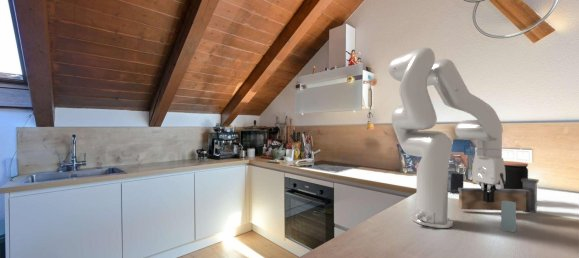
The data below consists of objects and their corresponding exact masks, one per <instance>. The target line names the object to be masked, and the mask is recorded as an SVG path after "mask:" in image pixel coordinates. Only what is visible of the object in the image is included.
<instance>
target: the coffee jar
mask: <svg viewBox="0 0 579 258" xmlns="http://www.w3.org/2000/svg"><path fill="white" fill-rule="evenodd" d="M503 161H504V165H505V177H506V178H505V184H504V185H503V186H504V189H523V182H522V181H521V179H522V178H529V168H528V167H529V163H527V162H521V161H507V160H503Z"/></svg>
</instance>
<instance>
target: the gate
mask: <svg viewBox="0 0 579 258" xmlns="http://www.w3.org/2000/svg"><path fill="white" fill-rule="evenodd" d="M458 191H459V193H458V208H459V209H460V210H476V211H479V210H480V211H481V210H482V211H501V202H502V201H504V200H505V201H511V202H516V212H523V211H525V212H524V213H529V212H531V190H527V189H524V190H523V189H497V190H496V192H494V202H484V201H483V190H482V189H481V187H475V188H474V187H463V188H458Z"/></svg>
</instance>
